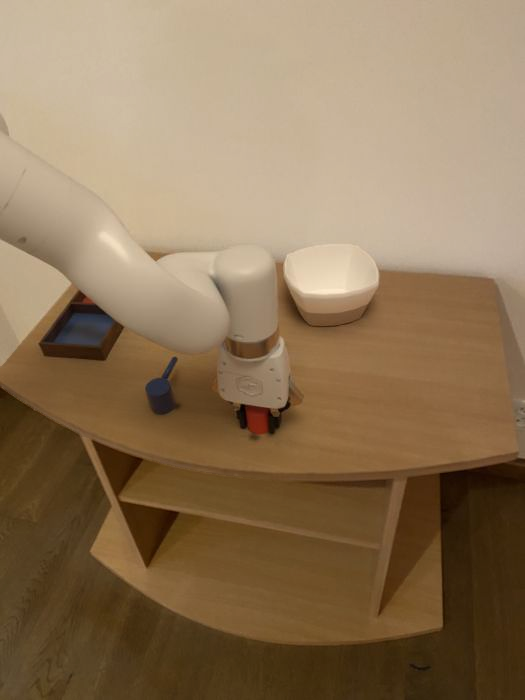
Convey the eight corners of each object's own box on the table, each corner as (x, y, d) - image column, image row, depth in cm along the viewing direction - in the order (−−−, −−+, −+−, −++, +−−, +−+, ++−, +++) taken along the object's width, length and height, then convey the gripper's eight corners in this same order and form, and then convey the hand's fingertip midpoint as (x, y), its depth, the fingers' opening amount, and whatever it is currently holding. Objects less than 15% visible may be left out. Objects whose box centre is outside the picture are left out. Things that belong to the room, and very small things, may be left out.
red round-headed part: (269, 436, 78) (267, 417, 75) (244, 432, 79) (241, 412, 76) (282, 392, 85) (281, 372, 82) (259, 388, 86) (257, 369, 83)
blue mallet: (169, 416, 82) (164, 397, 79) (147, 412, 83) (141, 393, 80) (190, 375, 89) (186, 356, 86) (169, 372, 90) (164, 353, 87)
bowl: (276, 288, 107) (274, 249, 101) (358, 277, 108) (361, 237, 102) (294, 342, 94) (293, 301, 87) (387, 328, 95) (392, 287, 89)
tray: (104, 360, 93) (100, 347, 91) (44, 355, 95) (38, 343, 93) (149, 282, 112) (146, 270, 110) (98, 280, 114) (94, 268, 112)
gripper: (182, 345, 67) (201, 433, 79) (307, 362, 63) (307, 452, 75) (201, 311, 72) (216, 398, 84) (318, 324, 68) (316, 414, 81)
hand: (259, 423), depth 80 cm, fingers closed on red round-headed part, 4 cm apart
